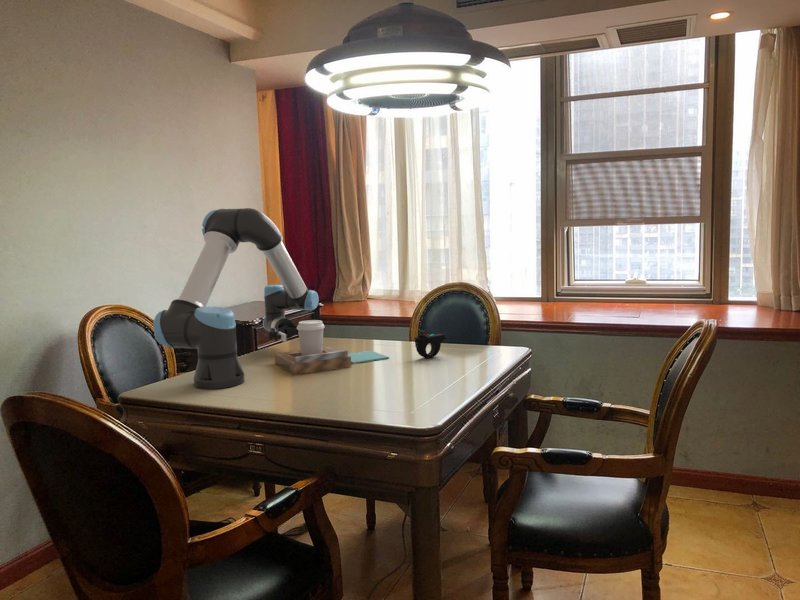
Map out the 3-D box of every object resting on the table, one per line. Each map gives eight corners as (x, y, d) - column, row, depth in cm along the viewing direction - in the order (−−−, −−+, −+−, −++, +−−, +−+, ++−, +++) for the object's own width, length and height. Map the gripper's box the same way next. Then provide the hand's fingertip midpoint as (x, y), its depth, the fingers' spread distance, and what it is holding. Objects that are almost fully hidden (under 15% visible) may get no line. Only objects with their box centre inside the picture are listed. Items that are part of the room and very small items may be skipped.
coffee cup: (293, 364, 219) (291, 322, 218) (317, 360, 225) (315, 318, 223) (306, 369, 212) (304, 325, 210) (331, 365, 217) (329, 321, 216)
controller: (412, 359, 223) (412, 330, 222) (440, 353, 230) (440, 326, 229) (420, 361, 220) (419, 332, 219) (448, 355, 227) (447, 328, 225)
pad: (352, 364, 218) (352, 362, 218) (336, 356, 230) (336, 355, 230) (388, 358, 225) (388, 357, 225) (371, 352, 237) (371, 350, 237)
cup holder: (294, 375, 205) (293, 358, 204) (275, 363, 222) (274, 348, 222) (351, 366, 215) (350, 350, 214) (328, 356, 232) (327, 341, 231)
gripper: (314, 333, 249) (336, 342, 231) (252, 341, 237) (270, 350, 219) (313, 315, 248) (335, 321, 230) (251, 321, 236) (268, 329, 218)
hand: (303, 336), depth 224 cm, fingers open, 13 cm apart
